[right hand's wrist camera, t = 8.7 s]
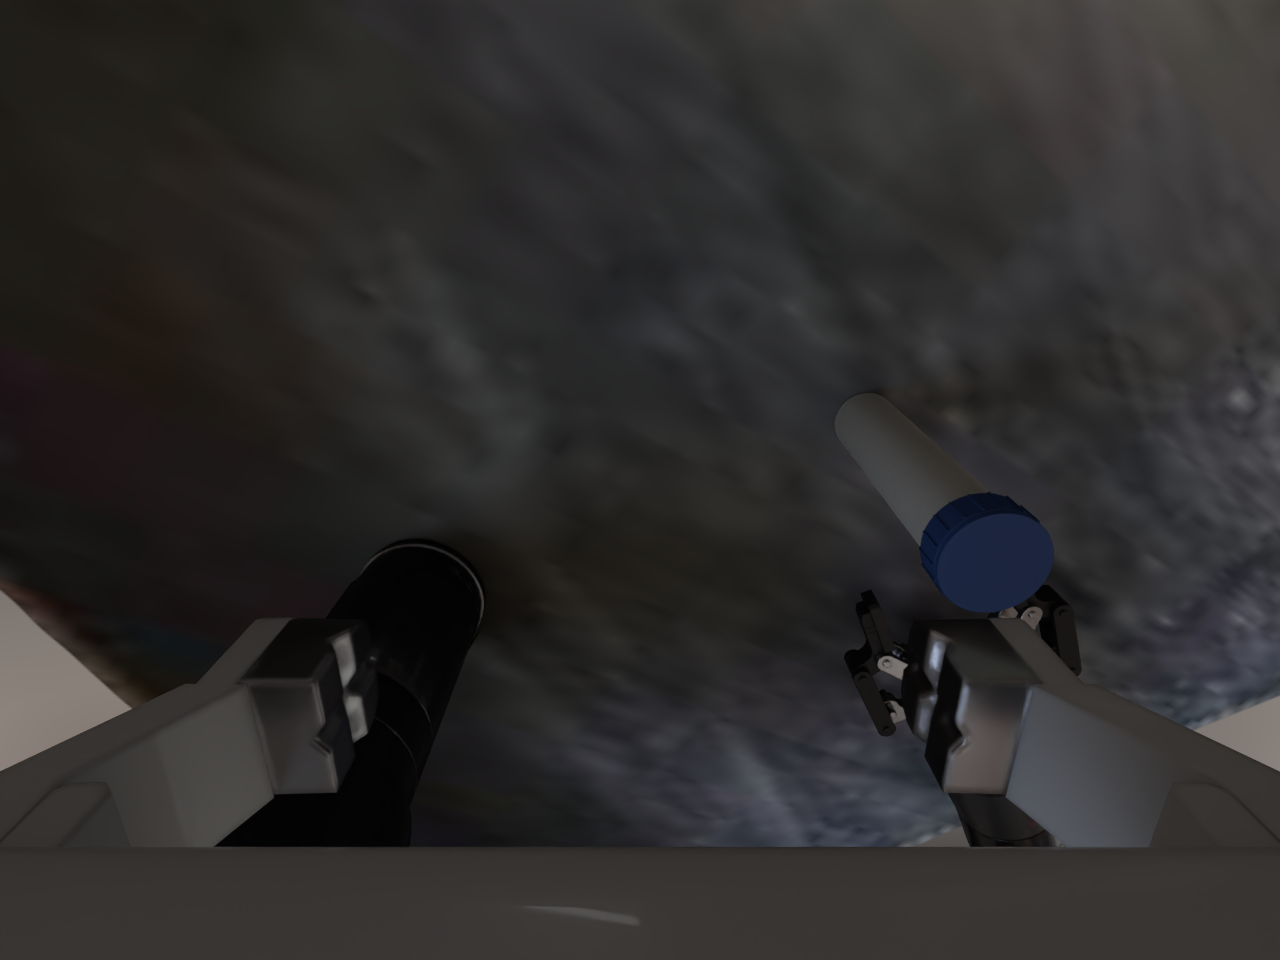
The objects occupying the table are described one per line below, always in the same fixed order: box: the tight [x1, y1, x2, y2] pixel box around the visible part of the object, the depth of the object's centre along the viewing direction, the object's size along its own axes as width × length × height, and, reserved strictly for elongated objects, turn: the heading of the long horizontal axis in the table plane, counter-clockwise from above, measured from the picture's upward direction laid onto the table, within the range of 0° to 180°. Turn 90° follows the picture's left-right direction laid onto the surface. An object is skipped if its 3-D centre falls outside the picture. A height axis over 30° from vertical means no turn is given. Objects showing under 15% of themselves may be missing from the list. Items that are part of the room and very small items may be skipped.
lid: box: [919, 492, 1054, 613], centre depth 31 cm, size 5×5×2 cm
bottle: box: [834, 393, 989, 546], centre depth 39 cm, size 4×4×19 cm
